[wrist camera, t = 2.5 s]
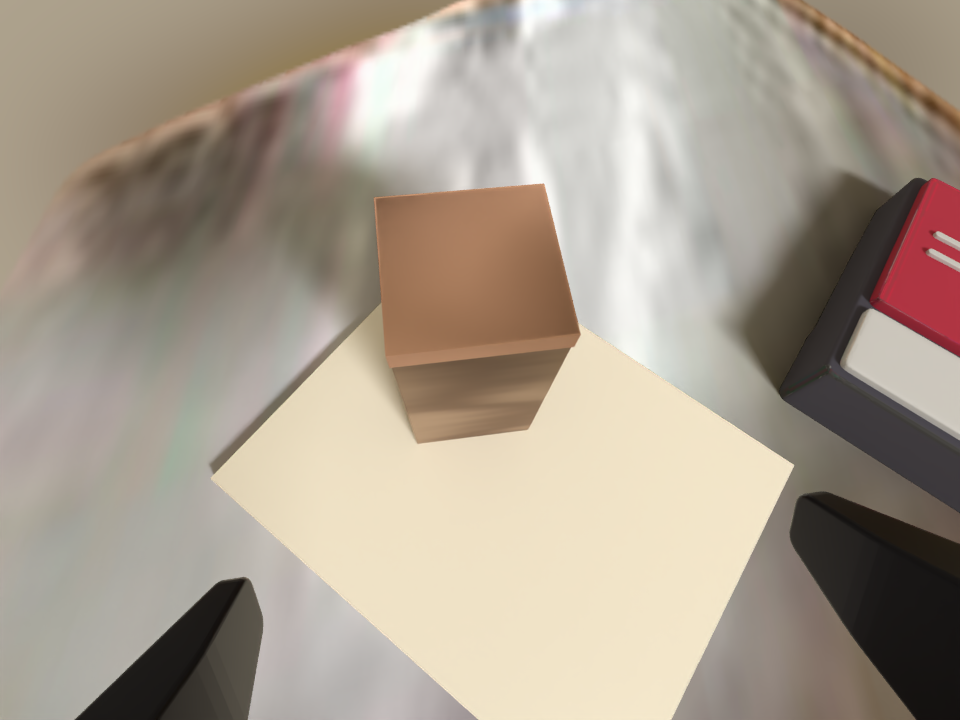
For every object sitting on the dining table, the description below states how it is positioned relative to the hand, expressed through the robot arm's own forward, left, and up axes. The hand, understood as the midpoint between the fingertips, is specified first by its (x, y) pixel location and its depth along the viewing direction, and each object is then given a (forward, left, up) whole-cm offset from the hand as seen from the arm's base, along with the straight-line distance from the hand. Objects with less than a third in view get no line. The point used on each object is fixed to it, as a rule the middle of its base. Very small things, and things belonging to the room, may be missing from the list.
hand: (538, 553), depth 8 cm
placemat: (+1, -3, -14) cm, 14 cm away
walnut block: (+5, -5, -13) cm, 15 cm away
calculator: (-12, -22, -14) cm, 29 cm away
